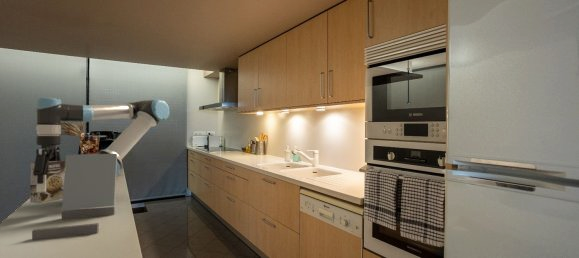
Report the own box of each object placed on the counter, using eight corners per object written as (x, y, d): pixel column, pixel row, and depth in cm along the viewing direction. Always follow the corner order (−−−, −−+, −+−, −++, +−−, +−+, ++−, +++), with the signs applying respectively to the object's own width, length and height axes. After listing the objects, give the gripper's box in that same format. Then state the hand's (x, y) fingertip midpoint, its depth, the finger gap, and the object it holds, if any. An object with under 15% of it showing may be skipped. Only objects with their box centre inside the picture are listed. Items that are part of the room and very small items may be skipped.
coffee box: (42, 203, 108) (42, 163, 108) (29, 202, 110) (29, 162, 109) (65, 198, 117) (65, 160, 117) (53, 197, 118) (53, 160, 118)
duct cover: (61, 209, 109) (63, 209, 110) (113, 205, 115) (114, 205, 117) (66, 154, 113) (67, 155, 114) (116, 153, 119) (117, 153, 120)
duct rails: (63, 218, 111) (63, 210, 111) (114, 213, 117) (114, 206, 117) (32, 239, 89) (32, 230, 89) (97, 233, 95) (97, 224, 95)
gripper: (51, 134, 123) (50, 183, 123) (21, 135, 101) (20, 195, 101) (71, 134, 126) (70, 182, 125) (46, 135, 104) (45, 194, 104)
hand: (48, 188), depth 113 cm, fingers closed on coffee box, 10 cm apart
